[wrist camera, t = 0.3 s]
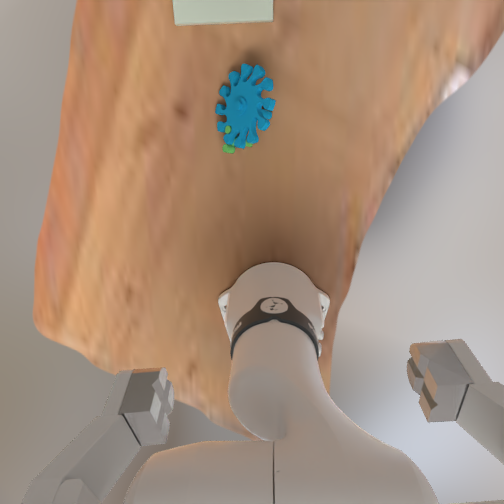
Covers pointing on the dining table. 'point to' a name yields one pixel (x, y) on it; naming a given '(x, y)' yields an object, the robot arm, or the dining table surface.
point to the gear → (244, 108)
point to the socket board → (222, 11)
